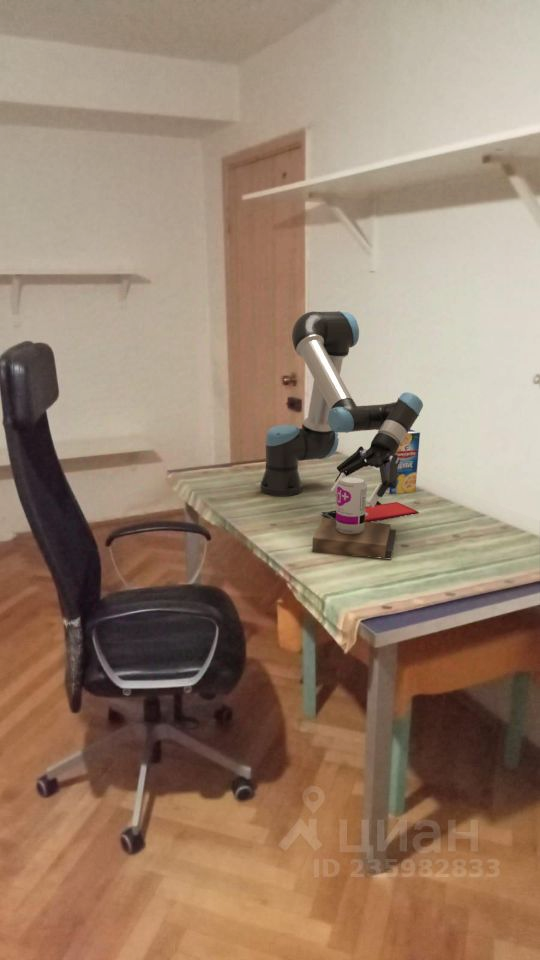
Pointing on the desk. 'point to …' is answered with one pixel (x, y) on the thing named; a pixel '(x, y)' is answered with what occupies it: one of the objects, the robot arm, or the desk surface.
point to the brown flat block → (355, 540)
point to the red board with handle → (381, 511)
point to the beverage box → (406, 464)
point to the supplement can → (351, 505)
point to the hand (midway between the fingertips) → (351, 499)
